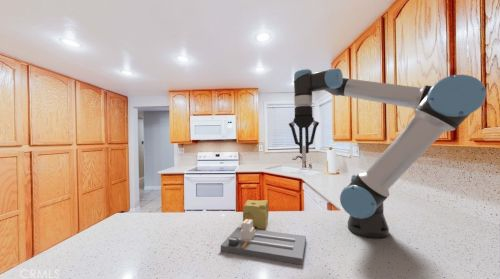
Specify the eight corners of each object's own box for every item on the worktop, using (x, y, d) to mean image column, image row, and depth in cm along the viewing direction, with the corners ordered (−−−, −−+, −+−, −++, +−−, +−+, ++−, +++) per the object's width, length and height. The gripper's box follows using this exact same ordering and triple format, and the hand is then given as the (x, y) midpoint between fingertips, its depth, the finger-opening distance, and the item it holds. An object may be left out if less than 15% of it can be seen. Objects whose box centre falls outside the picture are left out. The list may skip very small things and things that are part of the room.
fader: (254, 235, 81) (254, 219, 81) (251, 240, 77) (250, 223, 77) (244, 234, 82) (244, 218, 82) (240, 239, 78) (240, 222, 78)
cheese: (266, 230, 91) (265, 206, 91) (241, 228, 93) (241, 205, 93) (268, 220, 101) (268, 199, 101) (246, 219, 104) (246, 199, 104)
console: (305, 241, 81) (305, 231, 81) (302, 265, 65) (302, 253, 65) (237, 231, 89) (237, 223, 89) (220, 251, 74) (220, 240, 74)
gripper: (319, 106, 93) (320, 160, 94) (289, 108, 98) (290, 159, 98) (319, 104, 86) (320, 162, 86) (287, 106, 90) (288, 161, 91)
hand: (304, 160), depth 92 cm, fingers closed
